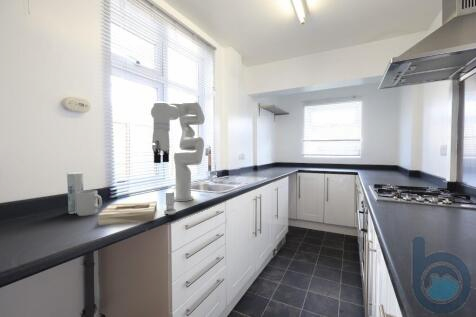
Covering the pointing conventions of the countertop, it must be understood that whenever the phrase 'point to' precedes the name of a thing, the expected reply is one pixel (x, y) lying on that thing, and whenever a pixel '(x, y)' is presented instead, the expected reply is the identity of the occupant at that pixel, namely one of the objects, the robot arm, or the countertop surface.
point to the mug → (88, 202)
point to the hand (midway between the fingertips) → (161, 162)
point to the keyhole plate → (127, 213)
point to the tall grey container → (74, 189)
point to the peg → (170, 203)
